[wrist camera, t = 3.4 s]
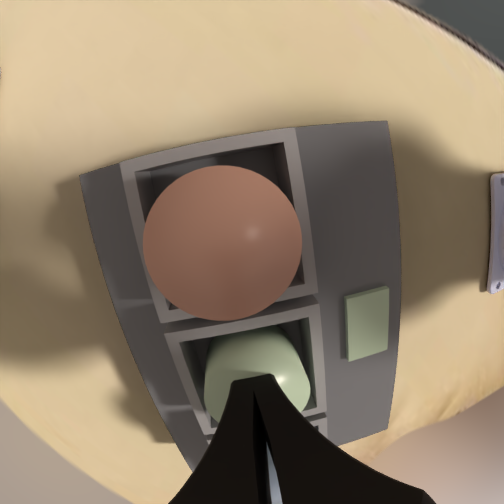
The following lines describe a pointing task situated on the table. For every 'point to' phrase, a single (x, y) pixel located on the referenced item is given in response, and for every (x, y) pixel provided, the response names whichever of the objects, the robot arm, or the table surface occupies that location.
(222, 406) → the sage button
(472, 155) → the table surface
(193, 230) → the terracotta button
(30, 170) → the table surface
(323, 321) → the console
